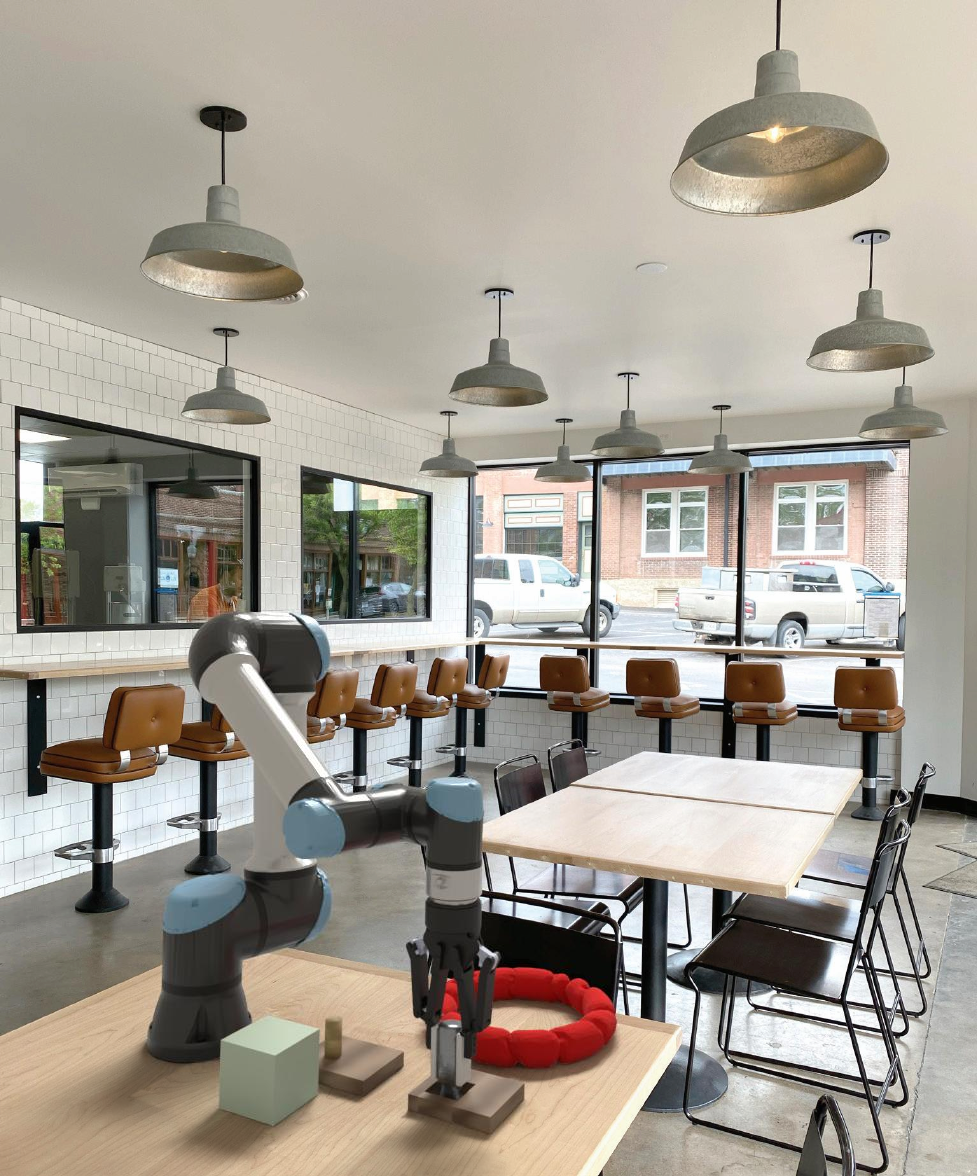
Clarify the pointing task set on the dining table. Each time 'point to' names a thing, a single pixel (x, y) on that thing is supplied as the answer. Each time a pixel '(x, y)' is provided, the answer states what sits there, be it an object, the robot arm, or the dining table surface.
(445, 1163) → the dining table surface
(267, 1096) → the pale green cube
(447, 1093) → the peg
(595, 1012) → the decorative ring
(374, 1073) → the board
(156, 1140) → the dining table surface
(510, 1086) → the square hole block
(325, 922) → the robot arm
